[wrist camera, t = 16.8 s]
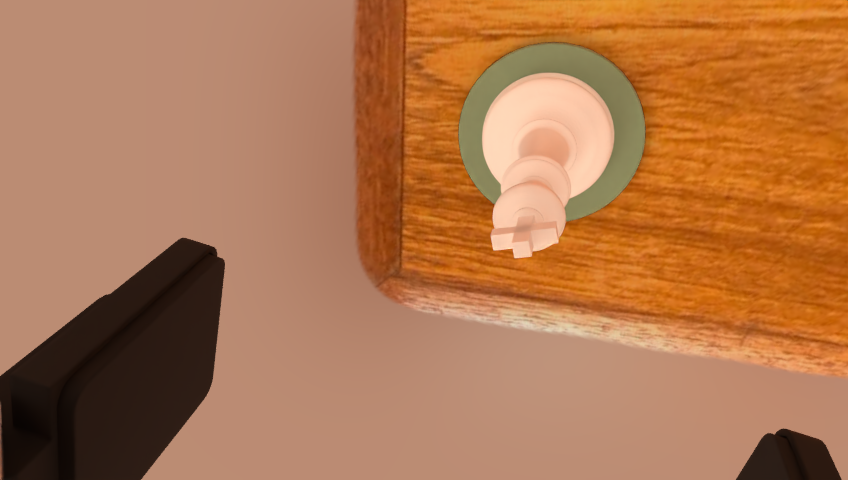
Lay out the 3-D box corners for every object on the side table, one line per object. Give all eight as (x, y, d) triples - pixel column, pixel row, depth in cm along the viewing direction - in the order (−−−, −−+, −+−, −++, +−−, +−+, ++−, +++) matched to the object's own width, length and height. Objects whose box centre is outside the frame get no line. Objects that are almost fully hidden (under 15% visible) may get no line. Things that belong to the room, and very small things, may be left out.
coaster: (441, 189, 28) (439, 193, 28) (486, 19, 25) (485, 20, 25) (606, 240, 27) (606, 245, 27) (674, 72, 24) (675, 74, 24)
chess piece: (621, 188, 26) (635, 325, 17) (495, 205, 27) (448, 340, 19) (605, 60, 24) (610, 139, 15) (471, 85, 26) (405, 171, 17)
